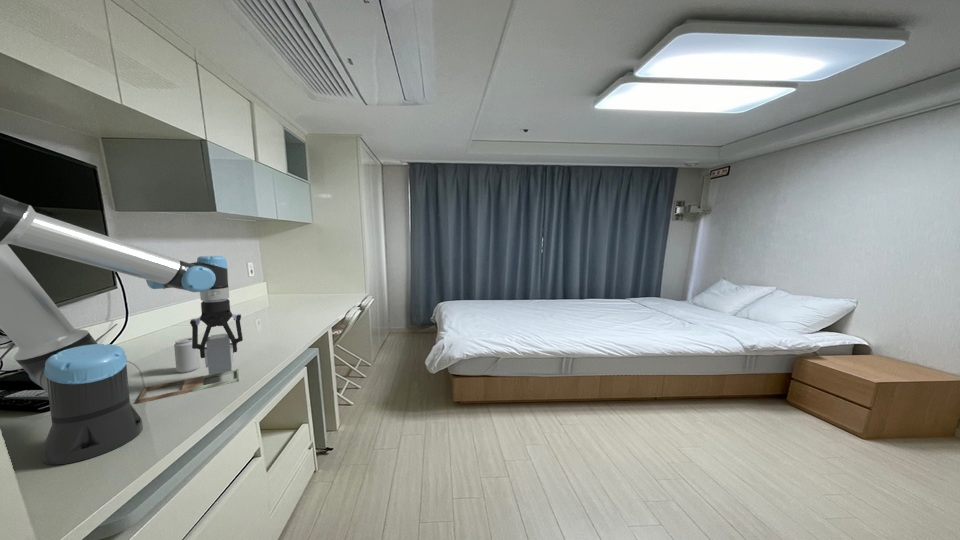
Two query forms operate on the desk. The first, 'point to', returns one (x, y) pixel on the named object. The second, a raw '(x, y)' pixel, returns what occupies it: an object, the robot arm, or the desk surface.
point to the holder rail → (187, 386)
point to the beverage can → (186, 356)
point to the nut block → (218, 354)
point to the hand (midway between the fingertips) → (220, 363)
